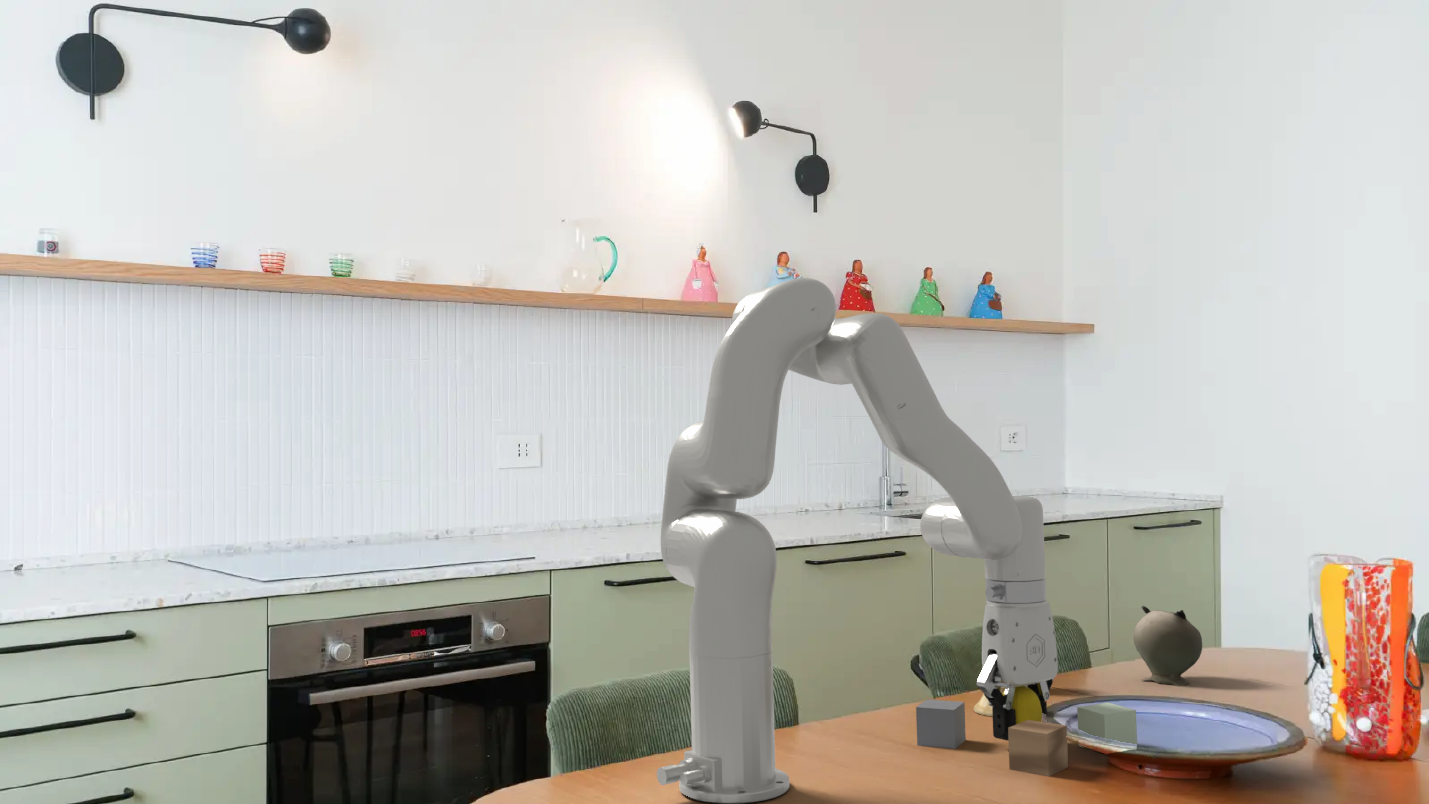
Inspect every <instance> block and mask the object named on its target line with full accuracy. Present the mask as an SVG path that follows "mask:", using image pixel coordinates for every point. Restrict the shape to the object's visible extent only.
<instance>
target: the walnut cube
mask: <svg viewBox="0 0 1429 804" xmlns="http://www.w3.org/2000/svg"><path fill="white" fill-rule="evenodd" d="M1067 731H1068V729H1067V725H1066V724H1059V723H1052V722H1047V723H1046V722H1039V721H1032V720H1027V721H1024V722H1021V723H1019V724H1016V725H1014V726H1011V727H1009V728H1008V740H1009V741H1008V762H1009V763H1008V766H1009V768H1008V769H1009V771H1015V772H1021V773H1025V774H1032V775H1038V776H1044V777H1051V776H1052V775H1055V774H1057V773H1059V772H1061V771H1063V770H1065V769H1067V768H1069V760H1068V759H1069V758H1068V757H1069V756H1068V754H1069V753H1068V732H1067ZM1066 736H1067V738H1066Z"/></svg>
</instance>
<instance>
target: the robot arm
mask: <svg viewBox="0 0 1429 804" xmlns="http://www.w3.org/2000/svg"><path fill="white" fill-rule="evenodd" d="M836 315H837V304H836V298H835V296H834V293H833V292H832V291H831V289H830V288H829V287H828V286H827V285H826V284H825V283H824V282H821V281H820V280H817V279H814V278H809V277H807V278H806V277H800V278H799V277H798V278H797V277H796V278H793V279H789V280H785V281H782V282H779V283H777V284H774V285H771V286H768V287H764V288H761V289H759V290H758V289H757V290H755V291H753V292H751V293H749V294H747V295H746V296H744V297H743V298H742V299H741V300H740V301H739V302H738V304H737V305H736V307H735V308H734V310H733V313H732V319H731V326H730V327H729V328H728V330H727V331H726V333H725V334H724V336H723V338H722V340H721V342H720V343H719V346H718V348H717V351H716V353H715V357H714V359H713V362H712V368H711V372H710V377H709V384H708V391H707V392H708V393H707V396H706V397H707V398H706V403H705V404H706V405H705V413H704V419H703V420H701V421H698V422H696V423H694V424H691V425H690V426H688V427H686V429H684V430H682V432H681V434H680V435H678V437H677V439H676V440H675V442H674V444H673V446H672V448H671V451H670V454H669V458H668V463H667V468H666V478H665V487H664V488H665V489H664V496H663V507H662V516H661V525H660V526H661V528H660V553H661V558H662V561H663V564H664V566H665V568H666V569H667V571H668V573H669V574H670V575H671V576H672V577H673V579H676V580H677V581H678V582H680V583H682V584H683V585H686V586H689V587H691V588H694V589H693V592H694V593H693V596H692V603H691V607H690V612H689V613H690V614H689V624H688V650H689V651H688V653H689V676H690V677H689V682H690V683H689V684H690V685H689V687H690V721H691V723H690V724H691V725H690V726H691V749H690V750H686V751H683V754H684V755H683V756H684V757H683V758H684V759H682V760H680V761H679V763H678V764H670V765H666V766H661V767H659V768H657V771H656V778H657V782H658V783H659V785H661V786H664V785H671V784H674V783H677V782H679V783H678V784H679V786H678V789H679V791H680V793H682V795H684V796H685V795H686V797H687V796H688V798H689V797H690V799H692V800H696V801H700V802H706V803H712V804H714V803H715V804H747V803H757V802H761V801H762V802H763V801H767V800H770V799H771V800H772V799H774V798H777V797H779V796H781V795H784V793H786V792H787V791H788V790H789V788H790V776H789V775H788V774H787V773H786V772H785V771H784V770H780V769H779V768H777V767H776V743H775V742H776V740H775V739H776V738H775V709H774V708H775V707H774V706H775V705H774V697H775V696H774V672H773V671H774V669H773V665H774V664H773V662H774V661H773V659H774V658H773V640H772V639H773V638H772V635H773V632H772V631H773V630H772V623H773V622H772V619H773V618H772V614H773V613H772V612H773V610H772V609H773V600H774V599H773V598H774V592H775V591H774V590H775V583H776V576H777V566H778V559H777V558H778V555H777V549H776V545H775V543H774V539H773V537H772V535H771V533H770V532H769V530H768V529H767V528H766V526H765V525H764V523H761V522H760V521H759V520H758V519H757V518H754V517H753V516H751V515H749V514H747V513H743V512H740V511H739V512H738V511H737V510H736V509H737V502H738V501H737V500H745V499H751V498H753V497H755V496H758V495H760V494H761V493H763V491H765V489H766V488H767V487H768V486H769V484H770V482H771V480H772V478H773V475H774V469H775V468H774V467H775V460H776V446H777V437H778V424H779V415H780V414H779V413H780V405H781V397H782V391H783V386H784V381H785V379H786V376H787V374H788V372H789V371H791V372H793V373H797V374H799V375H801V376H805V377H807V378H810V379H814V380H816V381H820V382H824V383H828V384H832V385H838V386H839V385H840V386H842V385H851V384H852V387H853V388H854V390H855V393H856V394H857V395H858V397H859V399H860V402H861V404H862V406H863V407H864V409H865V410H866V413H867V415H868V417H869V418H870V420H871V422H872V425H873V426H874V428H875V431H876V432H877V435H878V436H879V438H880V440H881V443H882V444H883V445H884V447H886V448H887V449H888V450H889V451H890V452H892V453H893V454H894V455H896V456H897V457H899V458H901V460H904V461H906V462H908V463H909V464H911V465H912V466H914V467H917V468H918V469H920V470H922V471H923V472H924V473H926V474H927V475H928V476H930V477H931V478H932V479H934V480H935V481H936V482H937V484H938V485H940V486H941V487H942V489H943V490H944V491H945V492H946V494H947V495H948V496H949V497H947V496H946V497H944V498H940V499H937V500H935V501H934V502H932V503H930V504H929V505H928V506H927V507H926V508H925V510H924V511H923V513H922V515H921V519H920V522H919V526H920V527H919V528H920V532H921V535H922V538H923V540H924V541H925V543H926V544H927V545H928V546H929V547H930V548H931V549H932V550H934V551H936V552H938V553H940V554H942V555H943V554H944V555H946V556H953V557H960V558H971V559H972V558H973V559H980V560H984V578H985V580H984V581H985V601H986V602H985V603H986V604H985V606H984V613H983V621H982V636H981V637H982V638H981V664H982V665H981V666H982V670H981V672H980V674H979V676H978V678H977V681H976V686H977V688H978V689H979V690H980V691H981V693H982V694H983V693H984V695H985V697H986V698H987V699H988V701H989V705H990V706H991V707H992V712H993V717H992V734H993V735H992V736H993V737H994V738H995V739H999V740H1003V741H1008V742H1009V740H1008V728H1009V727H1011V726H1014V725H1016V712H1015V709H1012V708H1011V707H1012V702H1013V696H1014V691H1015V687H1020V686H1026V687H1028V688H1030V689H1031V690H1032V691H1034V692H1035V693H1036V695H1037V696H1038V698H1039V701H1040V704H1041V708H1042V713H1044V714H1047V715H1048V707H1047V706H1048V705H1047V703H1048V702H1047V701H1049V699H1050V689H1051V687H1052V686H1053V681H1054V680H1055V678H1056V676H1057V674H1058V672H1059V666H1058V665H1059V664H1058V663H1059V662H1058V648H1057V641H1056V639H1057V638H1056V630H1055V629H1056V628H1055V624H1054V618H1053V613H1052V609H1051V606H1050V602H1049V601H1047V587H1046V585H1047V584H1046V583H1047V582H1046V581H1047V580H1046V579H1047V578H1046V560H1045V559H1046V558H1045V557H1046V556H1045V552H1046V551H1045V533H1044V532H1045V531H1044V528H1045V527H1044V526H1045V525H1044V509H1043V505H1042V503H1041V501H1040V500H1039V499H1038V498H1037V497H1033V496H1025V495H1024V496H1023V495H1022V496H1021V495H1018V496H1017V495H1014V496H1013V495H1012V493H1011V491H1010V488H1009V486H1008V484H1007V482H1006V480H1005V479H1004V476H1003V475H1002V473H1001V471H1000V470H999V468H998V467H997V465H996V464H995V462H993V460H992V459H991V458H990V457H989V456H988V454H987V453H986V452H985V451H984V450H983V448H981V447H980V446H979V445H978V444H977V443H976V442H975V441H974V440H973V439H972V438H971V437H970V436H969V435H968V434H967V433H966V431H964V430H963V429H962V428H961V427H960V426H958V425H957V423H955V422H954V421H953V420H952V419H950V418H949V416H948V415H947V414H946V412H945V411H944V409H943V407H942V405H941V403H940V401H939V399H938V398H937V395H936V393H935V391H934V389H933V387H932V385H931V383H930V381H929V379H928V377H927V376H926V373H925V372H924V370H923V367H922V365H921V364H920V361H919V359H918V357H917V356H916V354H915V352H914V350H913V348H912V346H911V344H910V341H909V340H908V337H907V336H906V334H905V332H904V330H903V329H902V327H901V326H900V324H899V323H898V322H897V321H896V320H895V319H894V318H892V317H891V316H889V315H887V314H883V313H877V312H876V313H875V312H874V313H873V312H871V313H863V314H857V315H852V316H847V317H843V318H839V317H836ZM1001 681H1004V682H1001ZM1005 682H1006V683H1005ZM1000 688H1005V694H1004V696H1003V694H1002V693H1001V692H1000Z"/></svg>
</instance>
